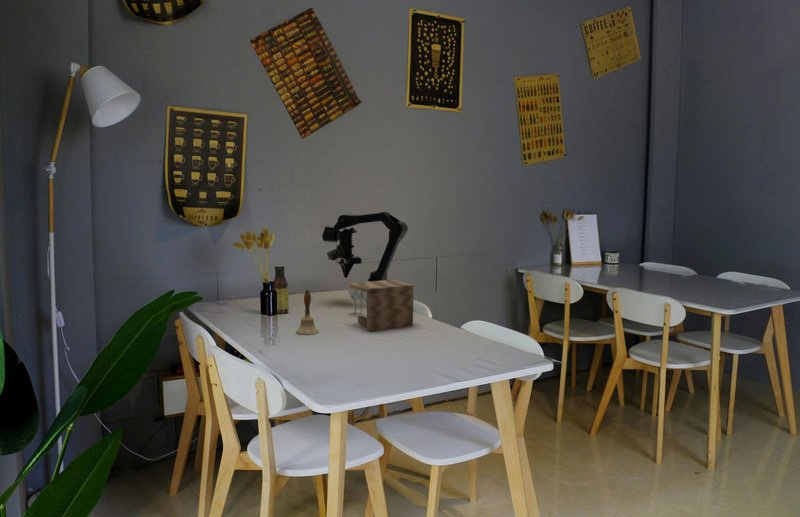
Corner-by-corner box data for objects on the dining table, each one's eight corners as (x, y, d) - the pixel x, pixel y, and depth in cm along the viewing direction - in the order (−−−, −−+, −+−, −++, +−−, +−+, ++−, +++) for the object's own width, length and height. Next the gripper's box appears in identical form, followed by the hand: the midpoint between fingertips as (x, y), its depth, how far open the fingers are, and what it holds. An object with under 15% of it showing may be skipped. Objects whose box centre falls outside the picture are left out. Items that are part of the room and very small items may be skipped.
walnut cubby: (392, 318, 274) (392, 279, 272) (412, 325, 261) (413, 285, 259) (349, 323, 263) (349, 283, 261) (368, 331, 250) (369, 289, 248)
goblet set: (389, 326, 260) (389, 292, 258) (375, 328, 257) (376, 293, 255) (358, 312, 284) (358, 281, 282) (346, 313, 282) (346, 282, 280)
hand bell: (322, 331, 251) (322, 289, 248) (310, 336, 243) (310, 292, 241) (303, 328, 254) (303, 287, 252) (291, 333, 247) (291, 290, 244)
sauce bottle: (291, 312, 281) (291, 265, 279) (279, 314, 277) (278, 267, 274) (282, 310, 286) (281, 264, 283) (269, 312, 281) (269, 265, 278)
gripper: (319, 241, 300) (319, 276, 302) (339, 246, 284) (339, 282, 287) (341, 240, 306) (341, 274, 308) (362, 244, 290) (362, 280, 293)
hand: (345, 277), depth 299 cm, fingers closed
